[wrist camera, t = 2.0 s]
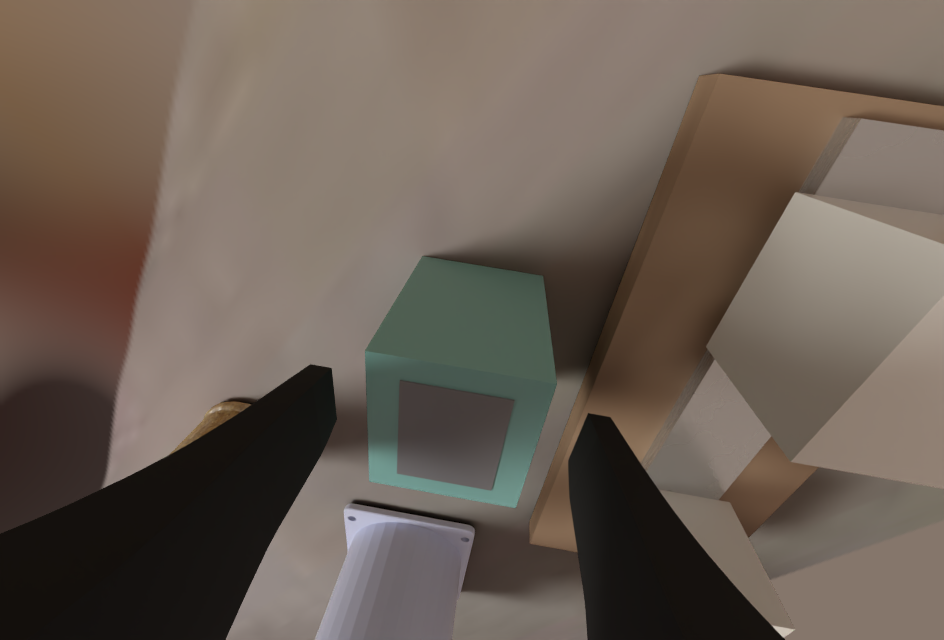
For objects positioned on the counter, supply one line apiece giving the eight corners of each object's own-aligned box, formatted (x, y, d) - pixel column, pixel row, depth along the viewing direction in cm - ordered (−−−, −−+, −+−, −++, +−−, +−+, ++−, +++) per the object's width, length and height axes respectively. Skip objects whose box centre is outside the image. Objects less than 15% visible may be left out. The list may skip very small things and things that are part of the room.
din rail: (653, 561, 20) (657, 573, 20) (590, 549, 20) (591, 561, 20) (987, 138, 9) (1016, 141, 8) (842, 117, 9) (861, 118, 9)
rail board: (700, 554, 21) (709, 576, 20) (529, 522, 22) (529, 543, 21) (1082, 132, 10) (1148, 136, 9) (699, 75, 10) (719, 73, 9)
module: (516, 378, 16) (515, 509, 11) (416, 361, 16) (369, 483, 11) (543, 275, 14) (557, 385, 8) (422, 255, 14) (364, 351, 9)
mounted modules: (681, 559, 19) (721, 678, 15) (592, 542, 19) (610, 656, 15) (974, 219, 9) (1283, 304, 6) (795, 191, 10) (978, 256, 6)
